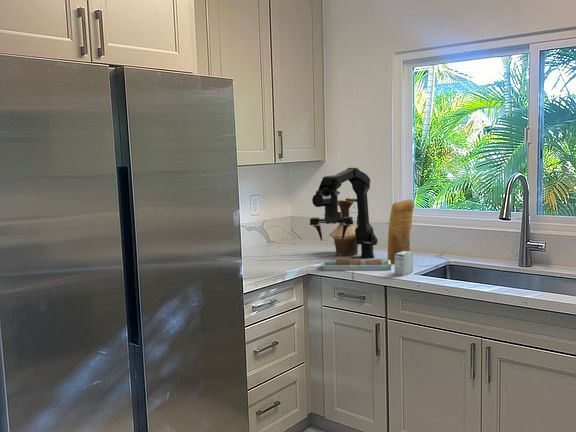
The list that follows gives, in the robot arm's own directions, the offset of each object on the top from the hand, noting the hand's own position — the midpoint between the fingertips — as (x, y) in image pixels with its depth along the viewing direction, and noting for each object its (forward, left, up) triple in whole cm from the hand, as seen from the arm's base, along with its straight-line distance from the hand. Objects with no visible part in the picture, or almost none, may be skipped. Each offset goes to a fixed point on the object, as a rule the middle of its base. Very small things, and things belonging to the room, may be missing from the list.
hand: (332, 240), depth 253 cm
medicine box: (+11, +30, -13) cm, 34 cm away
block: (-1, +5, -13) cm, 13 cm away
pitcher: (-34, +5, -13) cm, 37 cm away
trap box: (-3, +10, -12) cm, 16 cm away
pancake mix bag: (-14, +30, -13) cm, 36 cm away
